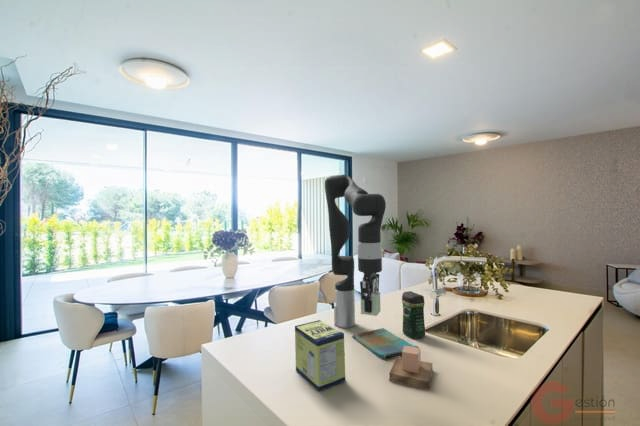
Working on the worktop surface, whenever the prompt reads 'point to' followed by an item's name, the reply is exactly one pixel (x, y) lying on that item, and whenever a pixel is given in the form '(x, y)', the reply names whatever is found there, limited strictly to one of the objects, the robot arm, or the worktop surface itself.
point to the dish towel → (382, 343)
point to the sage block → (374, 305)
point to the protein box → (320, 354)
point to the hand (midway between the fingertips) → (370, 309)
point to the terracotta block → (411, 359)
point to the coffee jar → (413, 315)
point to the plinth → (411, 374)
